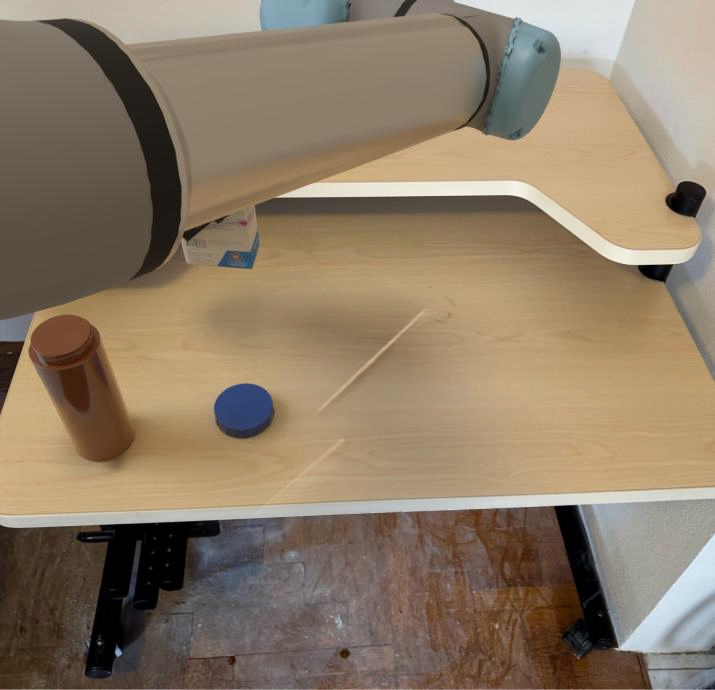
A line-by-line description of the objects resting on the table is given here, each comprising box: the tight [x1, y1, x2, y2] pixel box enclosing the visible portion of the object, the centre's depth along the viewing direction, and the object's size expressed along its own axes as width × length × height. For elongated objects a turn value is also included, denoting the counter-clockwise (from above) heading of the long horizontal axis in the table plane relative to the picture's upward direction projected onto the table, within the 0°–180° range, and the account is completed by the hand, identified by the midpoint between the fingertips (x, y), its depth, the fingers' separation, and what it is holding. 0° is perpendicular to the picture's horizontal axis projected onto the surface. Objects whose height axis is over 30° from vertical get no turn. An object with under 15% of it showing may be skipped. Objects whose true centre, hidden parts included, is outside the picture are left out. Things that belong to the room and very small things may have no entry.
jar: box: [28, 313, 136, 462], centre depth 72 cm, size 7×7×17 cm
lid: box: [213, 382, 275, 439], centre depth 81 cm, size 7×7×2 cm
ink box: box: [180, 205, 260, 270], centre depth 78 cm, size 8×5×15 cm, turn 84°
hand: (187, 217), depth 80 cm, fingers closed on ink box, 5 cm apart
